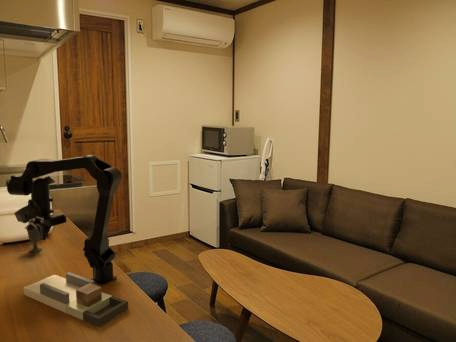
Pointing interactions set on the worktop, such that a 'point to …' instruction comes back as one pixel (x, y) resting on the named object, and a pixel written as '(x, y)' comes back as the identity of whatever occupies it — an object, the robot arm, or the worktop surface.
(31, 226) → the sundae
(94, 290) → the walnut block
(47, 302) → the deck
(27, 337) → the worktop surface
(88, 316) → the tray
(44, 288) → the lane walls
